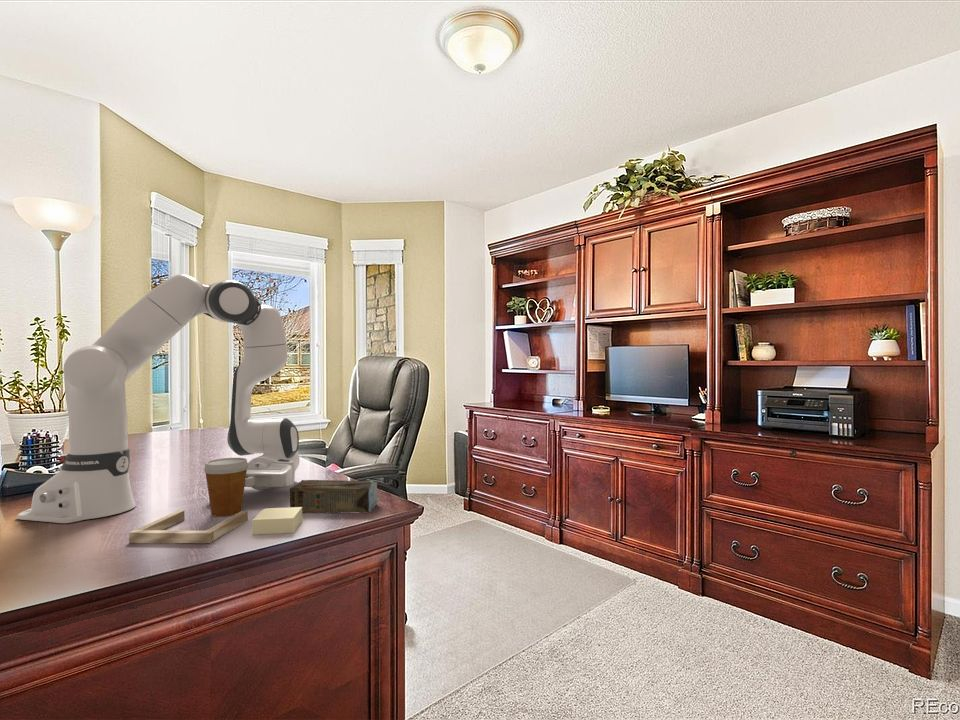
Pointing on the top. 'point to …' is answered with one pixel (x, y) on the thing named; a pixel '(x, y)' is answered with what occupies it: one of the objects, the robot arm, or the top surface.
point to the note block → (277, 520)
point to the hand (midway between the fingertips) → (235, 484)
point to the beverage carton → (334, 496)
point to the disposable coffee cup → (226, 485)
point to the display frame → (158, 535)
